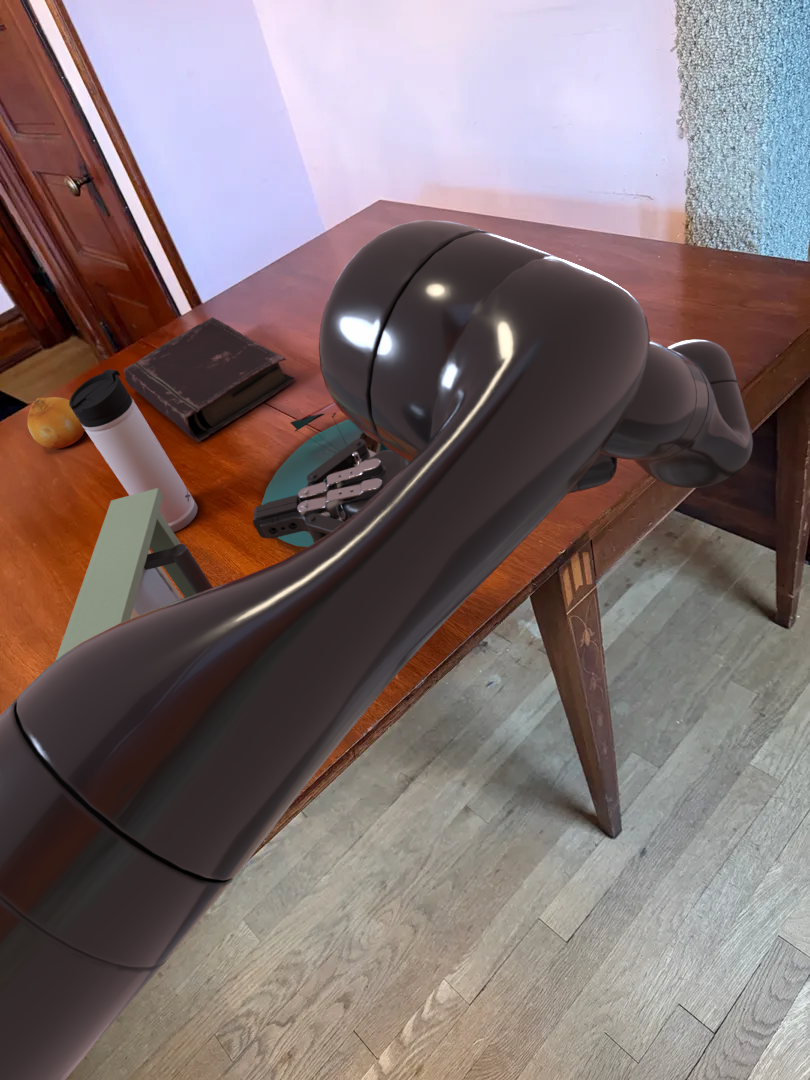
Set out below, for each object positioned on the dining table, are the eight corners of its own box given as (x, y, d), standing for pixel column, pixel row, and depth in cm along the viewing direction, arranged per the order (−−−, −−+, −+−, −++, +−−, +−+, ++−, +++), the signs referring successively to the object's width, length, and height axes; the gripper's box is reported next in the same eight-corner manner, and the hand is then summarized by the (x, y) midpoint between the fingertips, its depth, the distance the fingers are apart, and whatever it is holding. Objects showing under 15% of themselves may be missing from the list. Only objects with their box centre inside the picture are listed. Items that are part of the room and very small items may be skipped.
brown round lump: (27, 455, 113) (26, 405, 109) (28, 435, 119) (27, 387, 116) (86, 457, 116) (87, 408, 113) (84, 438, 123) (84, 391, 119)
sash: (244, 619, 76) (181, 520, 67) (236, 683, 70) (166, 584, 61) (199, 630, 77) (131, 534, 68) (188, 694, 71) (111, 598, 62)
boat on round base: (492, 393, 96) (469, 314, 90) (475, 537, 76) (443, 448, 69) (299, 435, 105) (265, 366, 99) (237, 573, 85) (188, 498, 78)
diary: (195, 446, 106) (179, 418, 103) (134, 395, 123) (118, 369, 120) (300, 380, 112) (288, 351, 109) (228, 340, 129) (216, 314, 126)
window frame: (240, 604, 80) (166, 485, 69) (216, 796, 64) (113, 682, 52) (185, 617, 81) (103, 502, 70) (147, 811, 64) (31, 701, 53)
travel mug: (209, 504, 95) (130, 370, 82) (175, 539, 92) (86, 406, 78) (177, 495, 98) (96, 366, 85) (142, 529, 95) (53, 399, 82)
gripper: (451, 383, 59) (245, 438, 61) (475, 485, 49) (228, 546, 51) (470, 457, 64) (278, 505, 66) (494, 563, 54) (269, 616, 56)
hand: (257, 523), depth 59 cm, fingers closed
